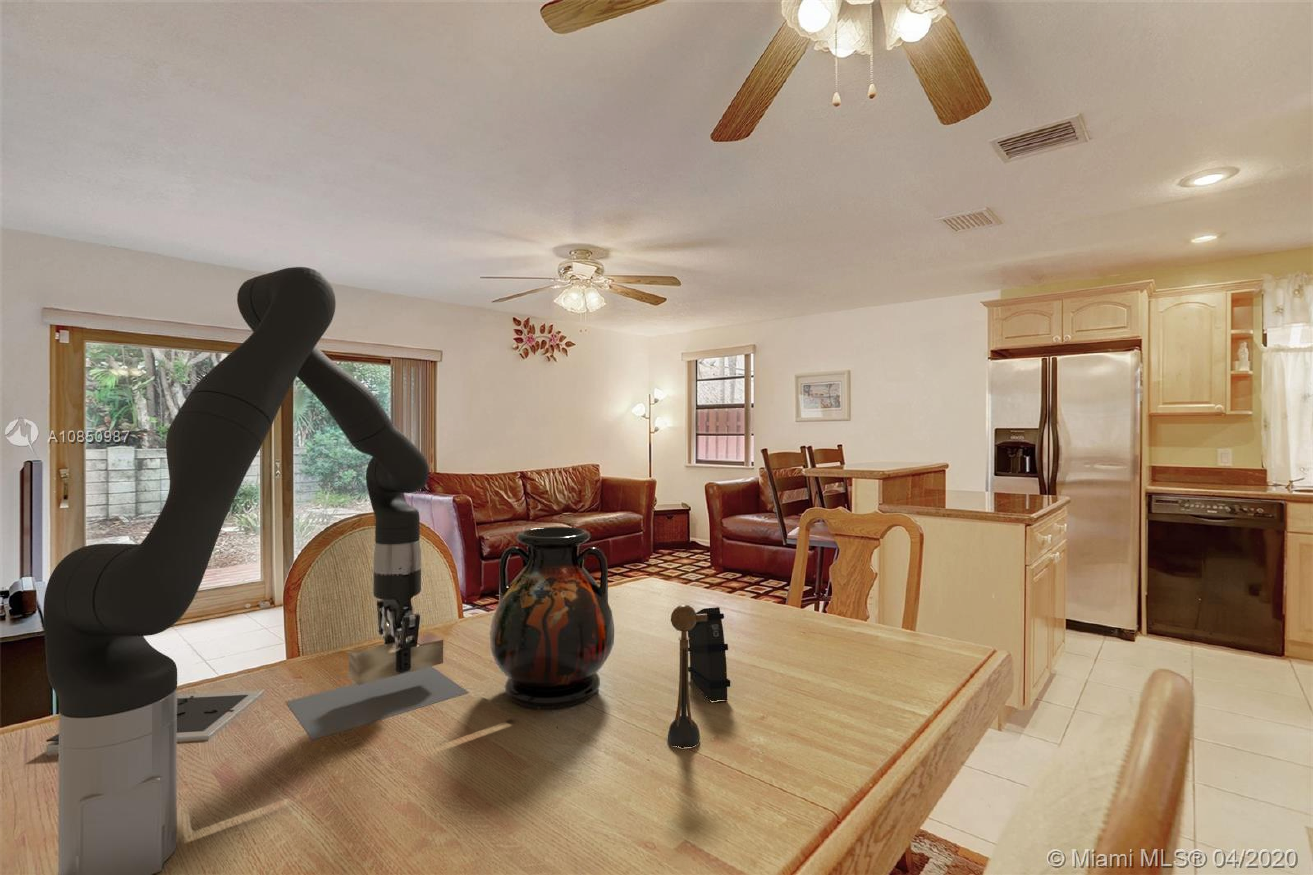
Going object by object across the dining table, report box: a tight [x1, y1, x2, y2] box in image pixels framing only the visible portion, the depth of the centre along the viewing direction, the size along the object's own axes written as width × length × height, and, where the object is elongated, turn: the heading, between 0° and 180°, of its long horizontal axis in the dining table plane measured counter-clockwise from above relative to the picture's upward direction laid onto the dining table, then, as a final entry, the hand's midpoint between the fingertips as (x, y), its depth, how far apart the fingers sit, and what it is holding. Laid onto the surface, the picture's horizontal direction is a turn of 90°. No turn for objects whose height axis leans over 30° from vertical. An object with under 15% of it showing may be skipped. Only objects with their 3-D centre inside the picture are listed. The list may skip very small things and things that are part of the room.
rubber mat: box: [285, 666, 470, 741], centre depth 101 cm, size 17×24×1 cm
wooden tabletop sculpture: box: [667, 604, 708, 748], centre depth 89 cm, size 6×5×20 cm
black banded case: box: [687, 606, 731, 701], centre depth 107 cm, size 4×13×15 cm, turn 17°
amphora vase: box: [489, 526, 615, 710], centre depth 106 cm, size 22×22×28 cm
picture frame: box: [45, 689, 265, 756], centre depth 93 cm, size 16×3×21 cm
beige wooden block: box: [348, 632, 444, 685], centre depth 104 cm, size 14×5×4 cm, turn 133°
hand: (397, 666), depth 104 cm, fingers closed on beige wooden block, 5 cm apart
